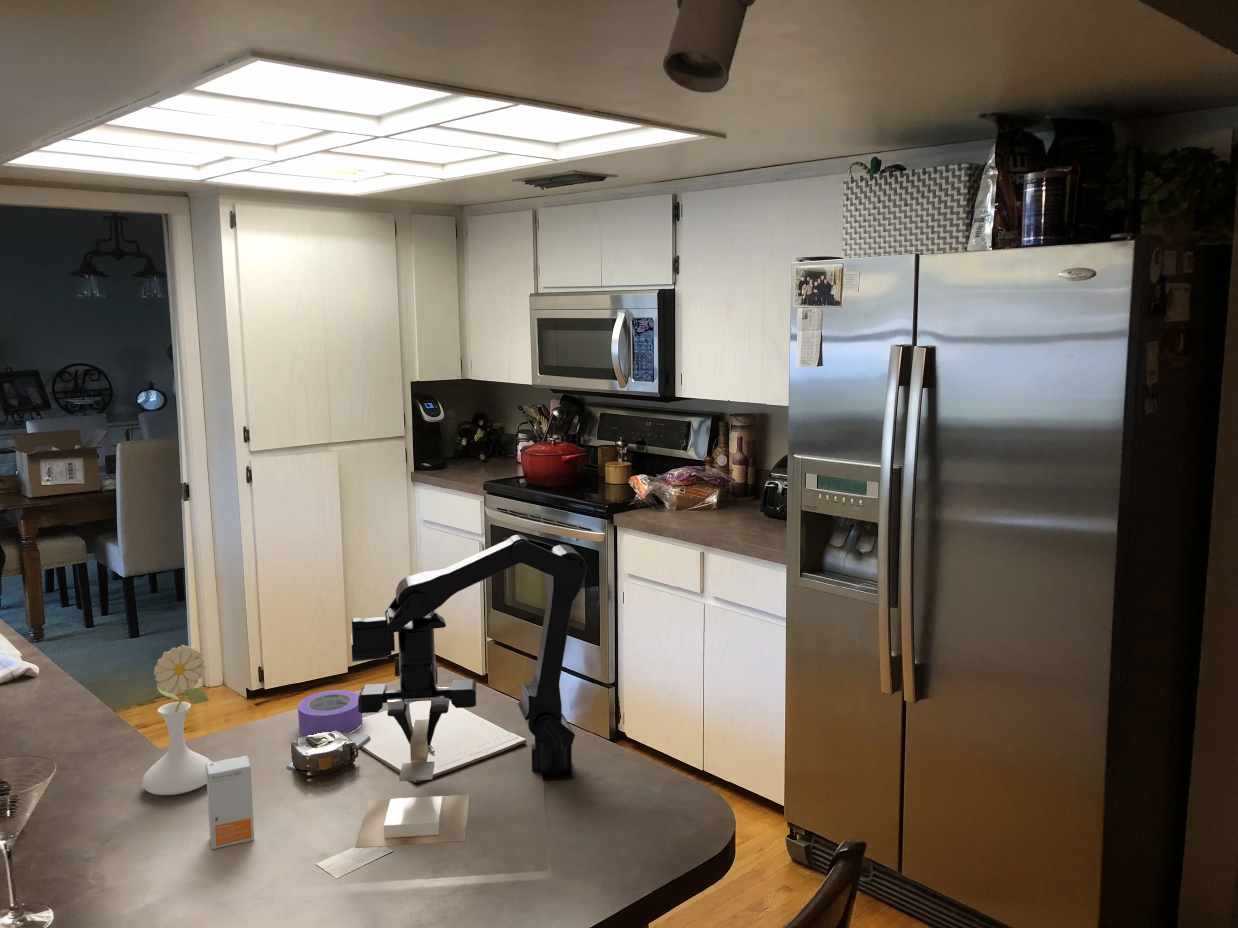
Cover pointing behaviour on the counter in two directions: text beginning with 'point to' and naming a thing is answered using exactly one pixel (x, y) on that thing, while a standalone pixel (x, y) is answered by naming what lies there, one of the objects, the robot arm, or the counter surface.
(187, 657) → the flower in vase
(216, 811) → the skincare box
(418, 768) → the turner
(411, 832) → the tile
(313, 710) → the tape roll
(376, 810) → the tan flat board
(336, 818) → the counter surface
